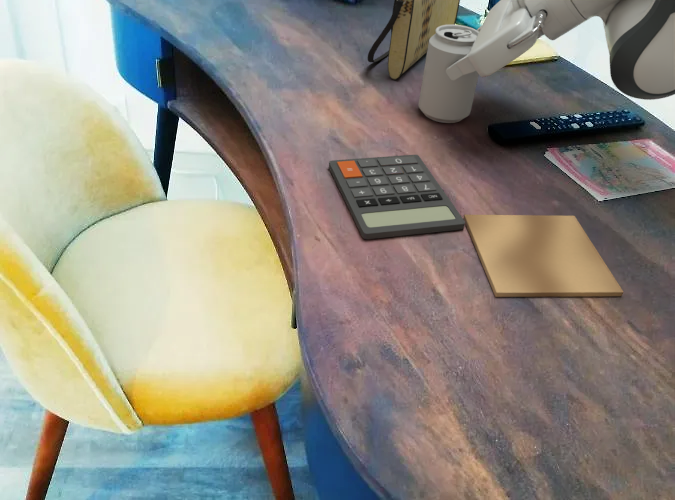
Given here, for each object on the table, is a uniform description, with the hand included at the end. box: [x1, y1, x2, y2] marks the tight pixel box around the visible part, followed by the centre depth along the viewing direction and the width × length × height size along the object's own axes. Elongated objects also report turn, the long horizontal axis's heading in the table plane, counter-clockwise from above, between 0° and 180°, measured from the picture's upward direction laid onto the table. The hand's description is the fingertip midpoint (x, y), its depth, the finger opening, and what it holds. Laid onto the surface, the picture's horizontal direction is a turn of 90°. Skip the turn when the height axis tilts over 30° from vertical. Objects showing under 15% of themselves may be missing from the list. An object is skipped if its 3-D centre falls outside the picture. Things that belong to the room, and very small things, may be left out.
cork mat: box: [462, 214, 625, 298], centre depth 68 cm, size 13×13×1 cm
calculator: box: [328, 154, 466, 240], centre depth 75 cm, size 12×1×15 cm
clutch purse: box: [367, 0, 461, 81], centre depth 106 cm, size 30×7×15 cm, turn 153°
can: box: [418, 24, 480, 124], centre depth 89 cm, size 8×8×12 cm
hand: (455, 61), depth 88 cm, fingers open, 8 cm apart
